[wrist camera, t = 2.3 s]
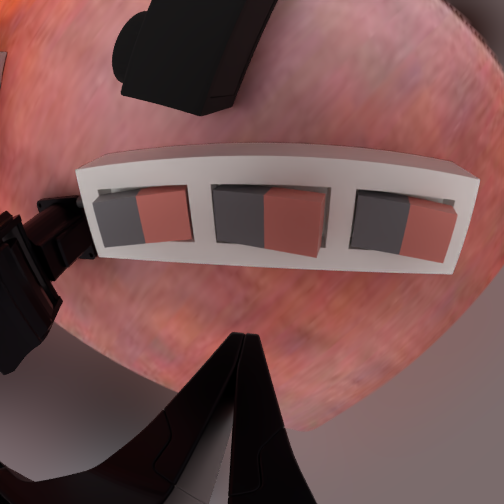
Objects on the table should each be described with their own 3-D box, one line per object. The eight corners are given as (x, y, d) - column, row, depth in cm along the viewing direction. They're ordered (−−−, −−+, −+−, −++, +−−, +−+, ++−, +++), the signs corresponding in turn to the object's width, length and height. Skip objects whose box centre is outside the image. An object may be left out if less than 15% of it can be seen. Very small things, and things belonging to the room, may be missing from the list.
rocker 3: (352, 235, 17) (351, 246, 16) (359, 187, 16) (358, 195, 14) (439, 251, 15) (443, 263, 14) (452, 205, 14) (457, 215, 12)
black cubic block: (211, -39, 11) (173, -83, 5) (289, -23, 11) (285, -73, 5) (159, 86, 16) (99, 91, 10) (232, 107, 17) (198, 117, 11)
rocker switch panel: (97, 231, 23) (72, 255, 20) (79, 158, 20) (48, 174, 16) (432, 245, 20) (452, 274, 16) (451, 161, 16) (480, 179, 13)
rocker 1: (110, 237, 18) (104, 247, 17) (99, 194, 16) (92, 203, 15) (193, 228, 19) (191, 239, 17) (187, 183, 17) (184, 190, 16)
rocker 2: (227, 229, 18) (217, 240, 17) (223, 182, 17) (212, 190, 16) (320, 245, 16) (316, 257, 15) (325, 193, 15) (321, 202, 14)
